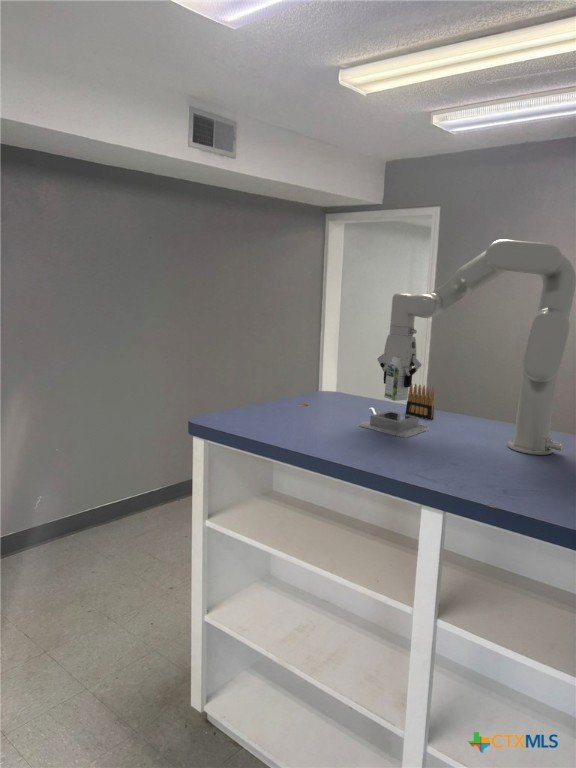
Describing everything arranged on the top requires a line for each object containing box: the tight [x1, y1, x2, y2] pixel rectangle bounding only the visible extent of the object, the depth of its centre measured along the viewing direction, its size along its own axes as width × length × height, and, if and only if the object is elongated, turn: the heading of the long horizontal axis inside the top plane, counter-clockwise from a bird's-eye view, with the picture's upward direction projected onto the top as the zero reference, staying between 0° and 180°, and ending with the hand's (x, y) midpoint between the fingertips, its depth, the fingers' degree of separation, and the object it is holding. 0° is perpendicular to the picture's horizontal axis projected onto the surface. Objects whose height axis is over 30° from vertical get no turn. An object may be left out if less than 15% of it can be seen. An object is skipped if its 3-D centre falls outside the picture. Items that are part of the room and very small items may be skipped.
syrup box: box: [383, 357, 409, 402], centre depth 176 cm, size 6×6×14 cm
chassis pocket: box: [358, 410, 430, 439], centre depth 179 cm, size 18×15×4 cm
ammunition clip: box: [405, 383, 435, 420], centre depth 196 cm, size 11×2×12 cm, turn 46°
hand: (397, 384), depth 177 cm, fingers closed on syrup box, 7 cm apart
